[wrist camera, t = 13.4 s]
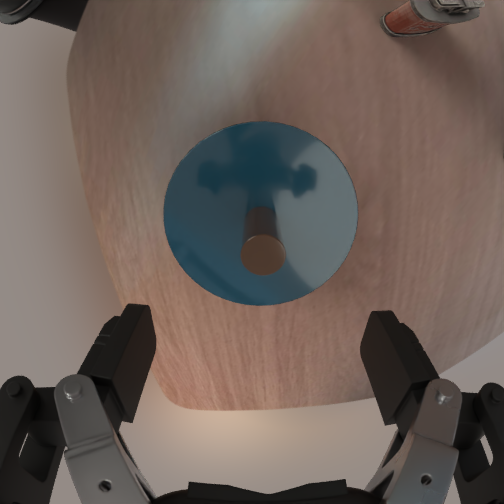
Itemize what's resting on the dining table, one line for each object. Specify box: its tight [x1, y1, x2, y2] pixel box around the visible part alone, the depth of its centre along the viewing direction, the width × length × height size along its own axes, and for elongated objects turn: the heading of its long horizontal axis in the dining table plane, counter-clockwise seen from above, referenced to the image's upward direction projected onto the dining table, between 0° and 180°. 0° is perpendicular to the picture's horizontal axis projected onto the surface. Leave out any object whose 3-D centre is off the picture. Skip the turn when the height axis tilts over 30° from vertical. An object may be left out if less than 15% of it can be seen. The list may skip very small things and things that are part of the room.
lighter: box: [380, 0, 485, 37], centre depth 15 cm, size 8×3×10 cm, turn 115°
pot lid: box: [164, 121, 358, 306], centre depth 18 cm, size 14×14×6 cm
